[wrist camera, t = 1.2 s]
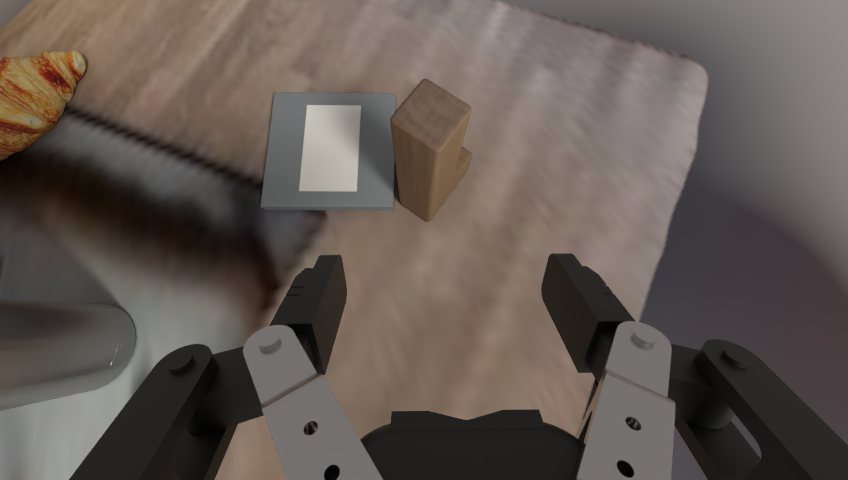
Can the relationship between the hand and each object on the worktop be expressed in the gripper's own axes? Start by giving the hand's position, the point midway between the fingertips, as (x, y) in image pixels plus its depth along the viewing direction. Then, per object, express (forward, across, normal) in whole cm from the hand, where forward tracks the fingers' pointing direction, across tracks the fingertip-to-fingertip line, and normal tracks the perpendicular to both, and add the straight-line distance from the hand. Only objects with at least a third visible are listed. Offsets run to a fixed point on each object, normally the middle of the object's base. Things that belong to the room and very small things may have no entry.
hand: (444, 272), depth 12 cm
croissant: (+35, +52, +1) cm, 63 cm away
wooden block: (+28, -1, +8) cm, 30 cm away
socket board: (+32, +12, +4) cm, 34 cm away
